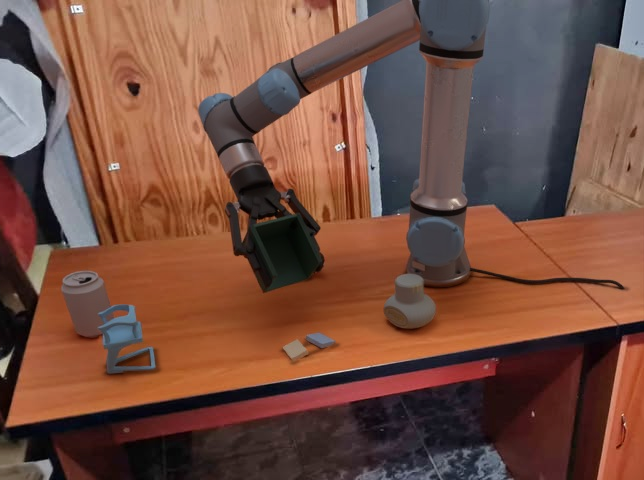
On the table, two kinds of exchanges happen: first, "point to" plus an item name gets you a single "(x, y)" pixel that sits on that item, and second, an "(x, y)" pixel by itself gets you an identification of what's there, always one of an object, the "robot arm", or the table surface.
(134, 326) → the chair
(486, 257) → the table surface
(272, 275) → the open box
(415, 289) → the air freshener
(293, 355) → the block
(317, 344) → the blue packet
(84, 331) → the can
